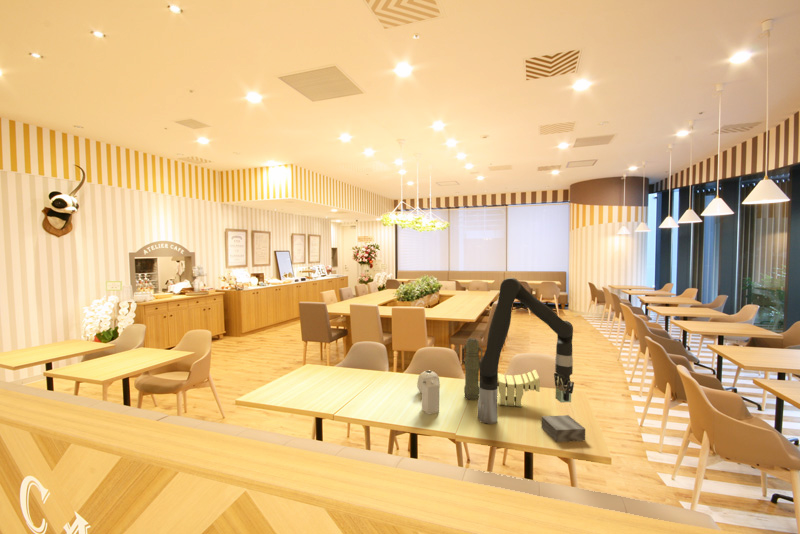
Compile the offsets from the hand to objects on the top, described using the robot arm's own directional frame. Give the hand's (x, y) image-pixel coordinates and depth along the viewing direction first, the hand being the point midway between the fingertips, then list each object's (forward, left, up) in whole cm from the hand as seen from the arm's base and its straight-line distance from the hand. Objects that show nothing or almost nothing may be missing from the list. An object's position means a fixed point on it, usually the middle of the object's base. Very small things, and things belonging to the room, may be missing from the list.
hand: (563, 398), depth 174 cm
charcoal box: (0, 0, -18) cm, 18 cm away
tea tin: (0, 0, -1) cm, 1 cm away
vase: (-56, +55, -18) cm, 80 cm away
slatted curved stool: (-11, +38, -18) cm, 43 cm away
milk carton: (-59, +30, -18) cm, 68 cm away
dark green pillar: (-31, +47, -18) cm, 59 cm away
